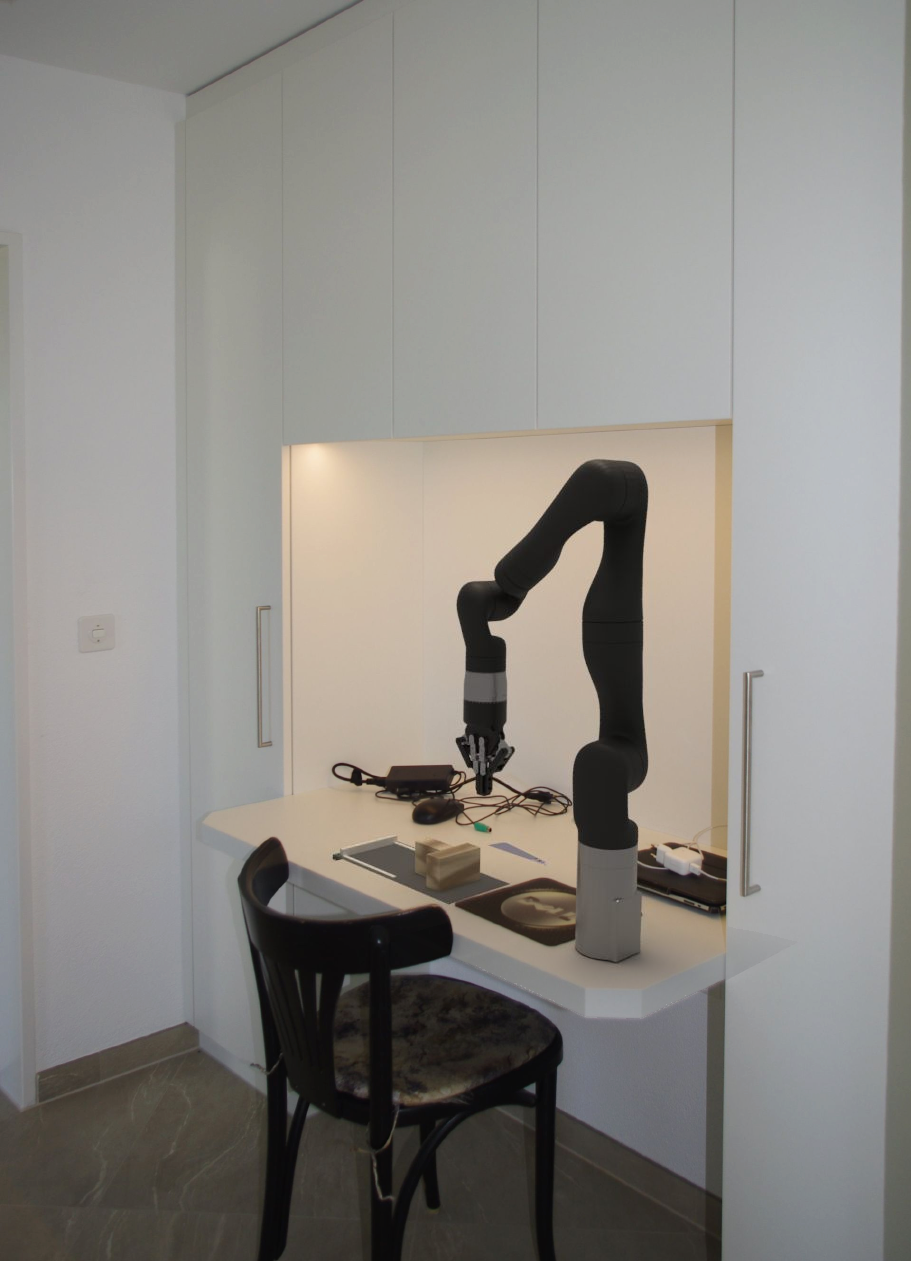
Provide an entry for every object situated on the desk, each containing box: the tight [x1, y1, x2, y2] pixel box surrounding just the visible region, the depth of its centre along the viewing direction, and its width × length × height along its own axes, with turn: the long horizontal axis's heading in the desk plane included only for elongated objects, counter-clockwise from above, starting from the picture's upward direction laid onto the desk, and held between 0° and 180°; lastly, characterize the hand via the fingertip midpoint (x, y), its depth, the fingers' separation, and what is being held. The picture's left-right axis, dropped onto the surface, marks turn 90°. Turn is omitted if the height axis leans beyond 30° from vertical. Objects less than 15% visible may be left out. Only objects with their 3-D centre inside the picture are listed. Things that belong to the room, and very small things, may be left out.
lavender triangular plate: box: [488, 842, 547, 866], centre depth 198 cm, size 8×1×15 cm
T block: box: [414, 837, 481, 892], centre depth 183 cm, size 10×10×6 cm
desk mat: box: [332, 834, 510, 905], centre depth 188 cm, size 34×15×2 cm, turn 43°
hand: (483, 794), depth 173 cm, fingers closed
